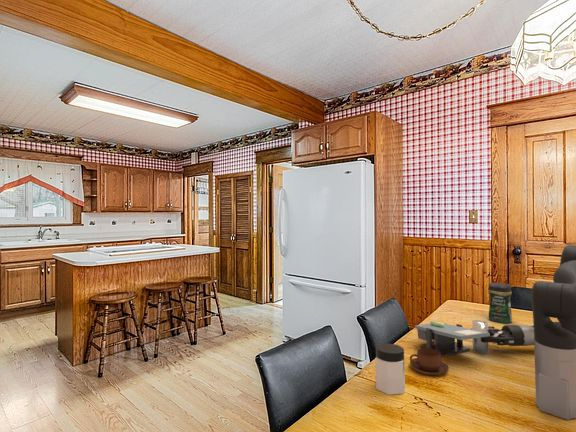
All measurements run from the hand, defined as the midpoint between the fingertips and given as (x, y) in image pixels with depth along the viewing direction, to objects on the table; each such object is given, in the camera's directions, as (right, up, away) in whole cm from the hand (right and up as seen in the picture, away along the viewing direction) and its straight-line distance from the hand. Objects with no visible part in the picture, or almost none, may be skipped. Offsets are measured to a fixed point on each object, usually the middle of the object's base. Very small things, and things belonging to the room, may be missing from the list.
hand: (475, 335), depth 130 cm
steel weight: (+2, -6, 0) cm, 6 cm away
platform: (-10, -2, -2) cm, 11 cm away
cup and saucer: (-24, -7, -15) cm, 29 cm away
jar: (-41, -7, -27) cm, 49 cm away
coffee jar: (+32, -6, +37) cm, 49 cm away
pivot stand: (-11, -6, +1) cm, 13 cm away
